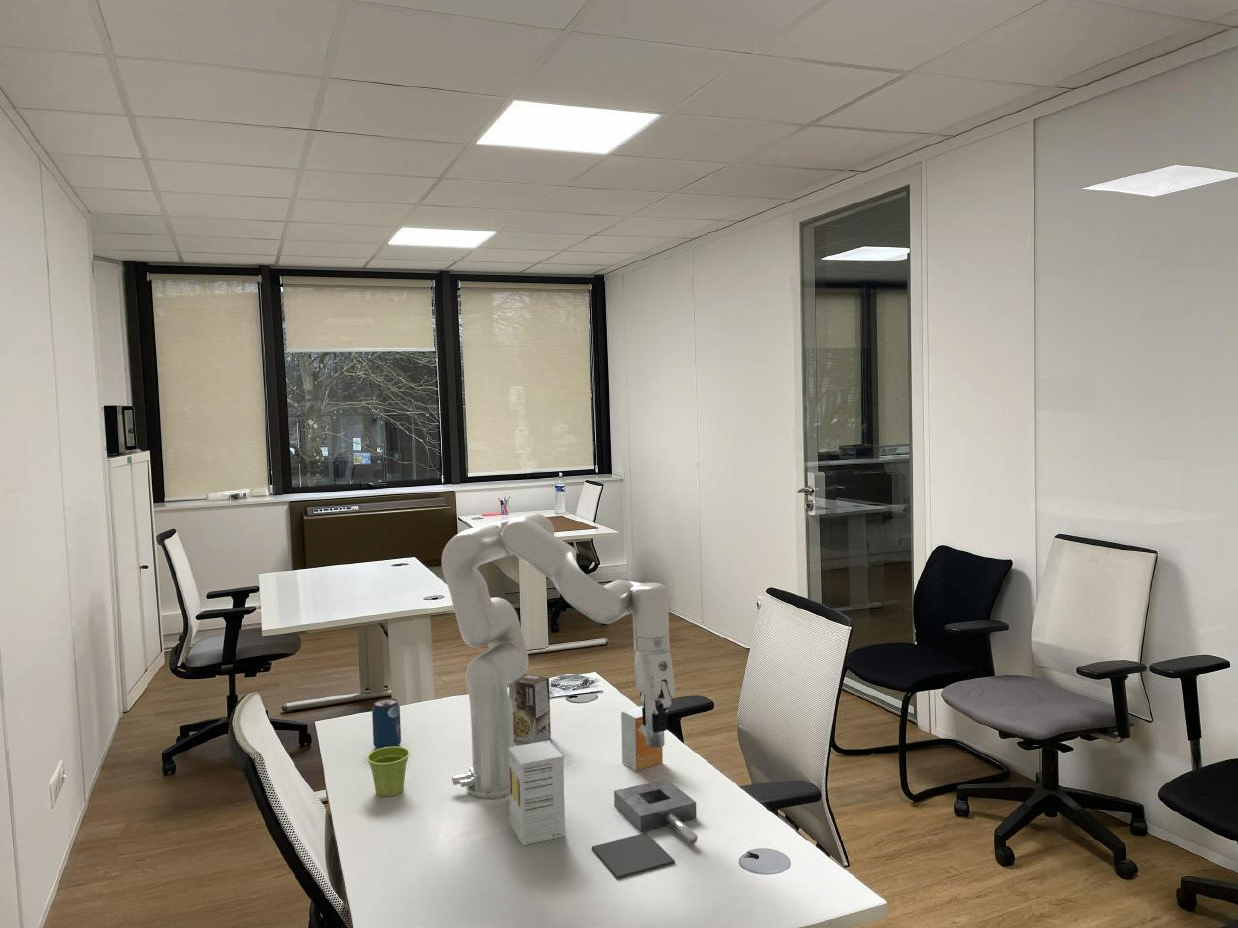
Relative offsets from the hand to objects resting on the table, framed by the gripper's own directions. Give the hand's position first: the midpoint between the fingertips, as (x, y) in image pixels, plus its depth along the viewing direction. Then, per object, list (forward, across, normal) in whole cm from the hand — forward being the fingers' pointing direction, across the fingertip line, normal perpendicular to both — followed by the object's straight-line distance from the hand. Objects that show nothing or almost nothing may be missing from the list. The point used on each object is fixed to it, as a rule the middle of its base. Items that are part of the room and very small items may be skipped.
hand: (654, 726), depth 180 cm
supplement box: (+19, +4, +26) cm, 32 cm away
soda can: (+18, +64, +46) cm, 81 cm away
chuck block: (+19, -5, 0) cm, 19 cm away
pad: (+19, -14, +12) cm, 26 cm away
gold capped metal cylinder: (+4, 0, 0) cm, 4 cm away
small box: (+19, +24, -8) cm, 32 cm away
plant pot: (+18, +38, +50) cm, 65 cm away
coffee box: (+18, +52, +10) cm, 57 cm away
